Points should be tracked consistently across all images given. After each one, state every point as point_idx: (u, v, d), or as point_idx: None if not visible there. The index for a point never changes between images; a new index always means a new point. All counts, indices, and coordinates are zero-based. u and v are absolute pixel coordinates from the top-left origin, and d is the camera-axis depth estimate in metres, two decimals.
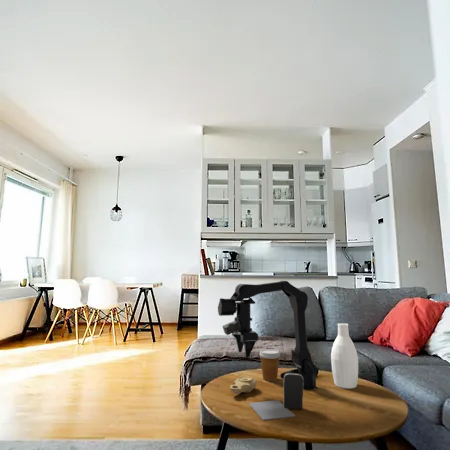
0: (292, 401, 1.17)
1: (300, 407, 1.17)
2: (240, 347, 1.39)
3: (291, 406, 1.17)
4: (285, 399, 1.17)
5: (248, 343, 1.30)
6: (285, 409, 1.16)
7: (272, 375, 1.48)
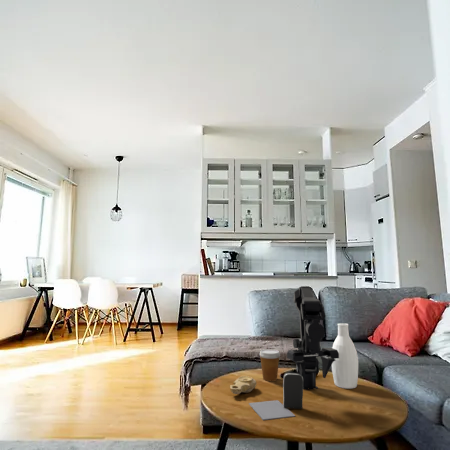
0: (292, 401, 1.17)
1: (300, 407, 1.17)
2: (323, 372, 1.24)
3: (291, 406, 1.17)
4: (285, 399, 1.17)
5: (300, 364, 1.21)
6: (285, 409, 1.16)
7: (272, 375, 1.48)
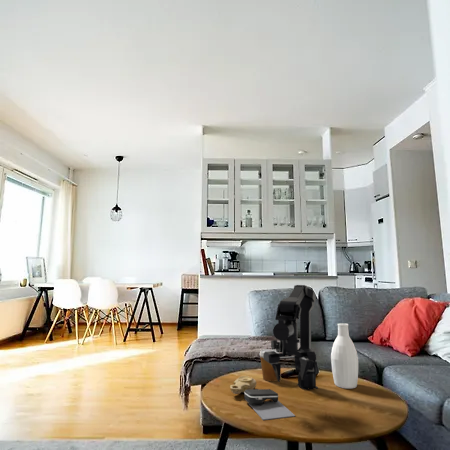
0: (269, 391, 1.24)
1: (270, 389, 1.27)
2: (301, 374, 1.21)
3: (273, 391, 1.24)
4: (271, 393, 1.21)
5: None
6: (285, 409, 1.16)
7: (272, 375, 1.48)
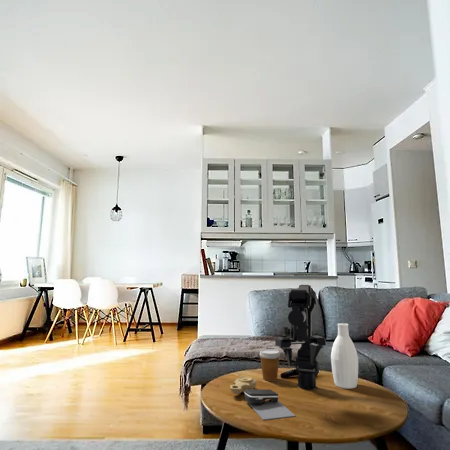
0: (269, 391, 1.24)
1: (269, 389, 1.27)
2: (311, 359, 1.27)
3: (273, 392, 1.24)
4: (271, 393, 1.21)
5: (287, 350, 1.25)
6: (285, 409, 1.16)
7: (272, 375, 1.48)
